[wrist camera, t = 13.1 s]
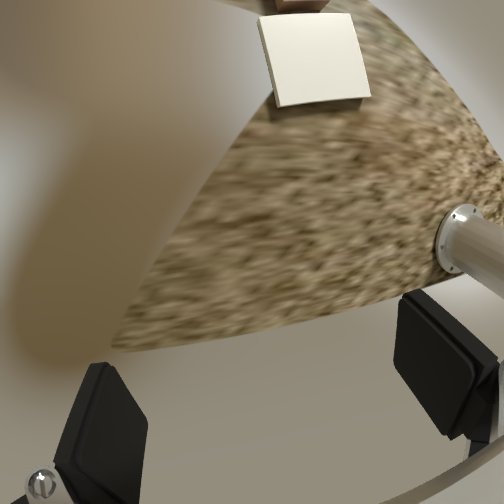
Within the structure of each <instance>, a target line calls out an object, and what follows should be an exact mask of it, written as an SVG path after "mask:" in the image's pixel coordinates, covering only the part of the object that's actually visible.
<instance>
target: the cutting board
mask: <svg viewBox="0 0 504 504" xmlns="http://www.w3.org/2000/svg"><path fill="white" fill-rule="evenodd" d="M257 25H258V29H259V33H260V37H261V41H262V45H263V49H264V53H265V57H266V61H267V65H268V70H269V73H270V78H271V82H272V87H273V91H274V96H275V100H276V105H277V108H280V107H286V106H293V105H300V104H308V103H316V102H324V101H334V100H345V99H357V98H367V97H371V94H370V89H369V84H368V80H367V75H366V71H365V67H364V63H363V59H362V55H361V51H360V47H359V43H358V40H357V36H356V33H355V29H354V26H353V23H352V19H351V16H350V14H343V13H306V14H286V15H273V16H262V17H259V18H258V21H257Z"/></svg>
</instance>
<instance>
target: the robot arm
mask: <svg viewBox="0 0 504 504" xmlns="http://www.w3.org/2000/svg"><path fill="white" fill-rule="evenodd" d="M435 249H436V257H437V260H438V263H439V265H440V266H441V267H442V268H443V269H444V270H446V271H447V272H449V273H454V274H455V273H460V272H462V271H463V272H465V273H466V274H468V275H469V276H471V277H472V278H474V279H475V280H477V281H478V282H480V283H482V284H483V285H484V286H486V287H487V288H489V289H490V290H492V291H493V292H494V293H496V294H497V295H499V296H500V297H501V298H503V299H504V227H501V226H499V225H498V224H497V223H492V222H490V221H488V220H485V219H483V216H482V213H481V212H480V210H479V209H478V208H477V207H476V206H474V205H472V204H469V203H462V204H458V205H457V206H455V207H453V208H452V209H451V210H450V211H449V212H448V213H447V215H446V216H445V218H444V219H443V221H442V223H441V225H440V227H439V230H438V234H437V238H436V247H435ZM497 359H498V357H497V356H496V355H495V354H494V353H493V352H492V351H490V349H488V348H487V347H486V346H485V345H484V344H483V343H482V342H481V341H480V340H479V339H478V338H476V337H475V336H474V335H473V334H472V333H471V332H470V331H469V330H468V329H467V328H466V327H464V326H463V325H462V324H461V323H460V322H459V321H458V320H457V319H455V318H454V317H453V316H452V315H451V314H450V313H449V312H447V311H446V310H445V309H444V308H443V307H441V306H440V305H439V304H438V303H437V302H436V301H434V300H433V299H432V298H431V297H430V296H429V295H427V294H426V293H425V292H424V291H422V290H421V289H415V290H413V291H410V292H407V293H404V294H403V296H402V299H400V301H399V304H398V318H397V330H396V340H395V350H394V359H393V361H394V366H395V368H396V370H397V371H398V373H399V374H400V375H401V377H402V378H403V380H404V381H405V382H406V384H407V385H408V387H409V388H410V389H411V391H412V392H413V394H414V395H415V396H416V398H417V399H418V401H419V402H420V404H421V405H422V407H423V408H424V409H425V411H426V412H427V414H428V415H429V417H430V418H431V420H432V421H433V423H434V424H435V425H436V427H437V428H438V430H439V431H440V433H441V434H442V435H447V436H448V438H449V439H450V440H453V439H455V438H456V437H458V436H460V435H461V434H464V435H465V436H466V438H467V441H466V448H465V454H464V459H463V462H462V463H460V464H458V465H456V466H455V467H453V468H451V469H450V470H448V471H446V472H444V473H442V474H441V475H439V476H437V477H436V478H434V479H432V480H430V481H428V482H426V483H424V484H422V485H420V486H418V487H416V488H414V489H412V490H410V491H408V492H406V493H403V494H401V495H399V496H397V497H395V498H392V499H390V500H388V501H385V502H383V503H380V504H504V360H503V361H502V362H501V364H499V362H497ZM147 430H148V422H147V419H146V417H145V415H144V414H143V412H142V411H141V409H140V408H139V406H138V404H137V403H136V401H135V400H134V398H133V397H132V395H131V394H130V392H129V390H128V389H127V387H126V385H125V384H124V382H123V380H122V379H121V377H120V375H119V374H118V372H117V370H116V369H115V367H114V366H110V364H109V363H107V362H102V363H93V364H90V366H89V368H88V370H87V372H86V374H85V377H84V379H83V382H82V384H81V386H80V389H79V391H78V394H77V396H76V399H75V401H74V404H73V407H72V409H71V412H70V414H69V417H68V419H67V422H66V425H65V428H64V430H63V433H62V436H61V439H60V442H59V445H58V448H57V451H56V454H55V457H54V460H53V462H54V463H55V468H53V467H51V466H47V465H43V466H39V467H36V468H35V469H33V470H32V471H31V472H30V473H29V474H28V476H27V478H26V481H25V493H26V494H25V495H24V496H22V497H20V498H19V499H17V500H16V501H14V502H13V503H11V504H139V498H140V487H141V477H142V468H143V460H144V452H145V444H146V437H147Z"/></svg>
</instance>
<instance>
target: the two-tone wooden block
mask: <svg viewBox="0 0 504 504" xmlns="http://www.w3.org/2000/svg"><path fill="white" fill-rule="evenodd" d="M274 1H275V4H276V8H277V11H278V12H282V11H301V10H322V9H323V8H324V7H325V5H326V4H327V3H328V2H329V1H330V0H274Z"/></svg>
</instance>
